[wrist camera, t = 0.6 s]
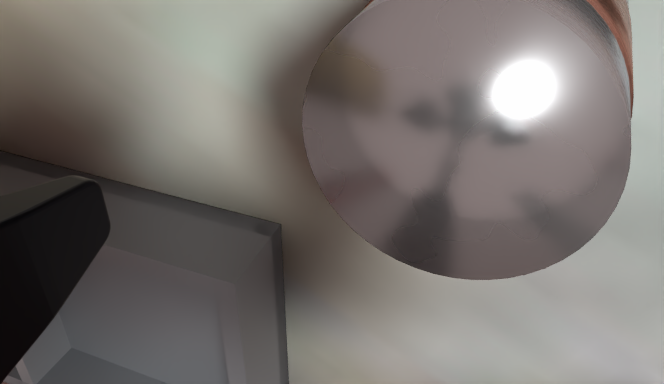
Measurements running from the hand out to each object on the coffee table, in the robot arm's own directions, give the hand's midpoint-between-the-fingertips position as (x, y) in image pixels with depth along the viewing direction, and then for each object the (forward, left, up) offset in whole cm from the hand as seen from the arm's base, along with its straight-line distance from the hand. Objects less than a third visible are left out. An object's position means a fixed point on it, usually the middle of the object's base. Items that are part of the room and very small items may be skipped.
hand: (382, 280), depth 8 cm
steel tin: (0, 0, -10) cm, 10 cm away
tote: (-15, +17, -10) cm, 25 cm away
